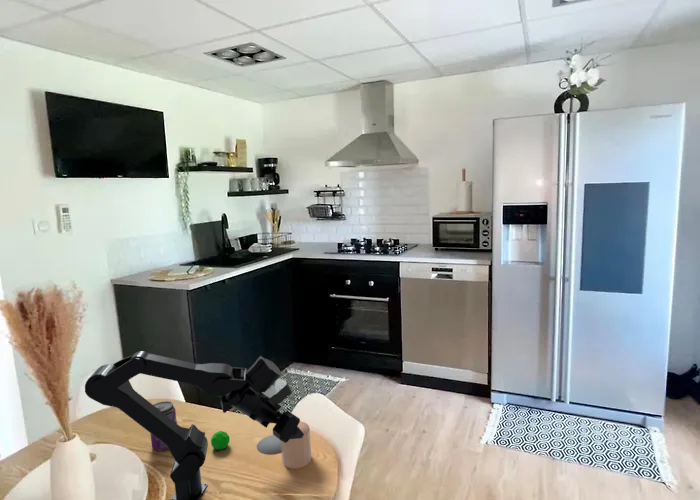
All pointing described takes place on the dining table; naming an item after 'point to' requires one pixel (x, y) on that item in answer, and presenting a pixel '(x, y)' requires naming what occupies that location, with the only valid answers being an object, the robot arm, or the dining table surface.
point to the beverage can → (169, 411)
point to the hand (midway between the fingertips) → (293, 428)
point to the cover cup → (297, 449)
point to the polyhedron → (220, 440)
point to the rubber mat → (269, 445)
